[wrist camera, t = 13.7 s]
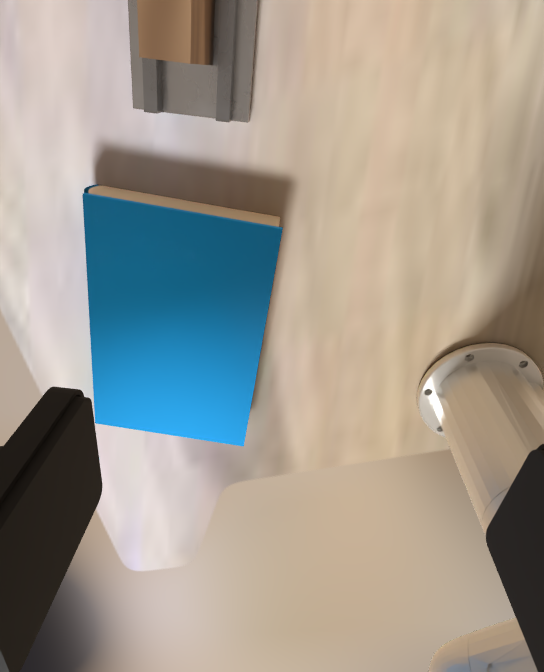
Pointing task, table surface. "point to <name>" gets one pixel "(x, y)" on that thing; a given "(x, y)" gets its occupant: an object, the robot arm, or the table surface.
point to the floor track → (201, 69)
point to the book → (176, 311)
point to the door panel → (176, 30)
